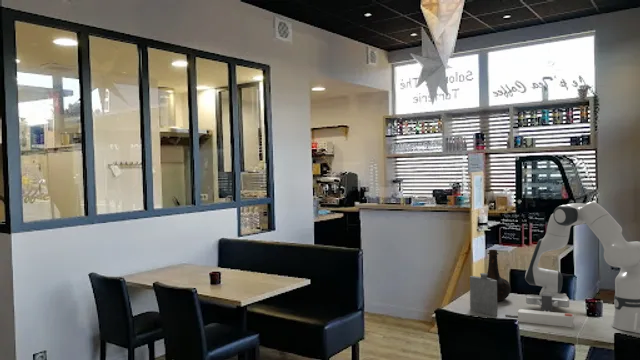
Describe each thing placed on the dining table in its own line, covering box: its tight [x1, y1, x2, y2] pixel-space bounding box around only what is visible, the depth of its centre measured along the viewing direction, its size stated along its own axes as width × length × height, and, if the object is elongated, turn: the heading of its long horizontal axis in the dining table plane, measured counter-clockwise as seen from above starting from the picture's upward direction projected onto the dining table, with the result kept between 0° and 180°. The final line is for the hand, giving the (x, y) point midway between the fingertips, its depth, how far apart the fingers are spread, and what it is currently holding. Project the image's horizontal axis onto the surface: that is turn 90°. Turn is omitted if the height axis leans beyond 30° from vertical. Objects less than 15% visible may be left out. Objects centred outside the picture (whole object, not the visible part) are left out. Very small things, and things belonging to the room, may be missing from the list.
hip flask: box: [469, 272, 498, 317], centre depth 269 cm, size 16×4×20 cm, turn 35°
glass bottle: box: [486, 249, 512, 302], centre depth 296 cm, size 18×18×28 cm
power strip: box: [505, 308, 575, 328], centre depth 250 cm, size 6×30×5 cm, turn 64°
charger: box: [541, 293, 553, 312], centre depth 261 cm, size 7×4×10 cm, turn 154°
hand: (546, 304), depth 261 cm, fingers closed on charger, 4 cm apart
